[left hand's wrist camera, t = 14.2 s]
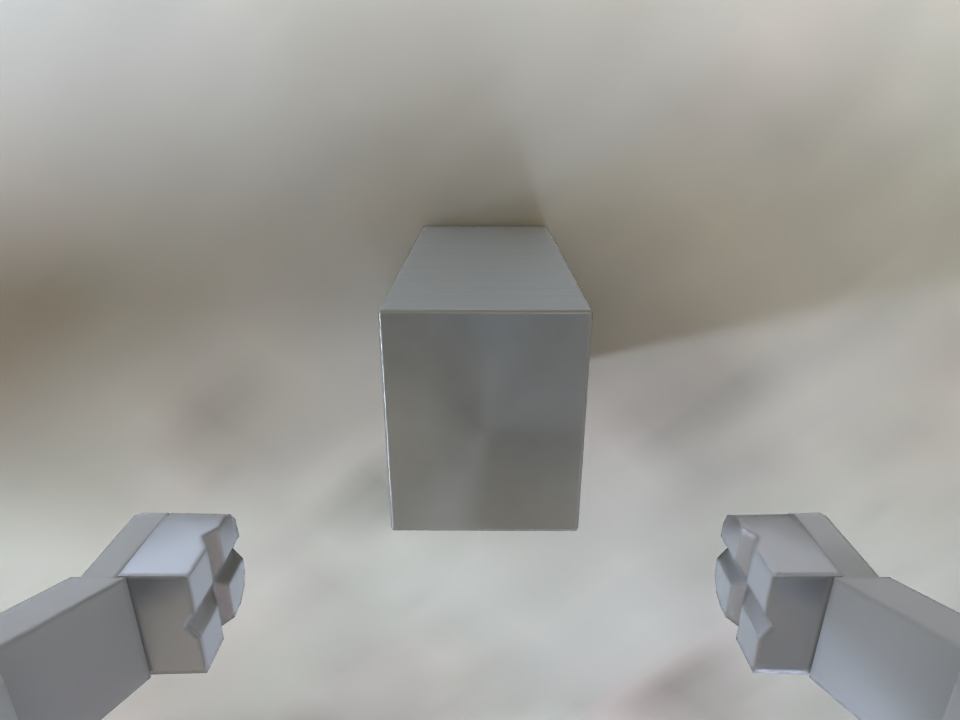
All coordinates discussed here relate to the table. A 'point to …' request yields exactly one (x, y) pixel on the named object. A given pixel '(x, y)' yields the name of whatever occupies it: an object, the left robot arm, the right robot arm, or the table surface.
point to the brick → (485, 382)
